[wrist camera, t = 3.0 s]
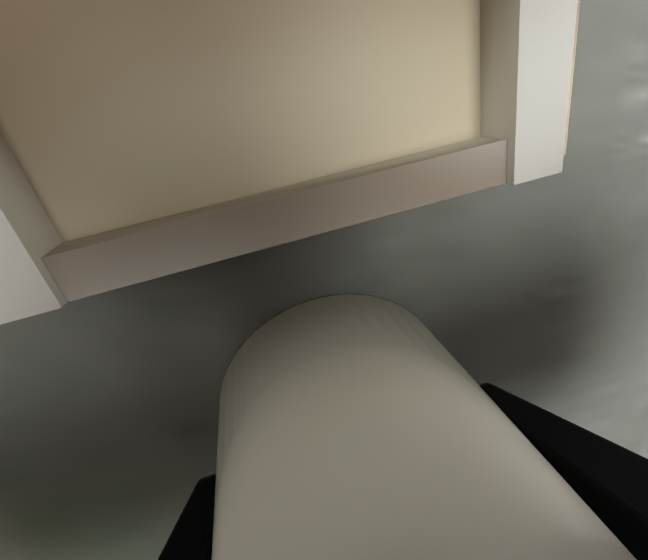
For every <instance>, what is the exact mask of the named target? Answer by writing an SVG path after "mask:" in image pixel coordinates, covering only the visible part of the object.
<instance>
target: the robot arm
mask: <svg viewBox="0 0 648 560" xmlns="http://www.w3.org/2000/svg"><path fill="white" fill-rule="evenodd" d="M479 386H480V387H481V388H482V389H483V390H484V392H485V393H486V394H487V395H488V396H489V397H490V398H491V399H492V400H493V401H494V403H495V404H496V405H497V406H498V407H499V408H500V409H501V410H502V411H503V413H504V414H505V415H506V416H507V417H508V418H509V419H510V420H511V421H512V422H513V424H514V425H515V426H516V427H517V428H518V429H519V430H520V431H521V432H522V434H523V435H524V436H525V437H526V438H527V439H528V440H529V441H530V442H531V443H532V445H533V446H534V447H535V448H536V449H537V450H538V451H539V452H540V453H541V455H542V456H543V457H544V458H545V459H546V460H547V461H548V462H549V463H550V464H551V466H552V467H553V468H554V469H555V470H556V471H557V472H558V473H559V474H560V476H561V477H562V478H563V479H564V480H565V481H566V482H567V483H568V484H569V485H570V487H571V488H572V489H573V490H574V491H575V492H576V493H577V494H578V495H579V497H580V498H581V499H582V500H583V501H584V502H585V503H586V504H587V505H588V506H589V508H590V509H591V510H592V511H593V512H594V513H595V514H596V515H597V516H598V518H599V519H600V520H601V521H602V522H603V523H604V524H605V525H606V526H607V527H608V529H609V530H610V531H611V532H612V533H613V534H614V535H615V536H616V537H617V538H618V540H619V541H620V542H621V543H622V544H623V545H624V546H625V547H626V548H627V550H628V551H629V552H630V553H631V554H632V555H633V556H634V557H635V558H636V559H637V560H648V459H647V458H644V457H642V456H640V455H638V454H636V453H634V452H632V451H630V450H628V449H626V448H624V447H621V446H619V445H617V444H615V443H613V442H611V441H609V440H607V439H605V438H603V437H601V436H598V435H596V434H594V433H592V432H590V431H588V430H586V429H584V428H582V427H580V426H578V425H575V424H573V423H571V422H569V421H567V420H565V419H563V418H561V417H559V416H557V415H555V414H552V413H550V412H548V411H546V410H544V409H542V408H540V407H538V406H536V405H534V404H532V403H530V402H527V401H525V400H523V399H521V398H519V397H517V396H515V395H513V394H511V393H509V392H507V391H504V390H502V389H500V388H498V387H496V386H494V385H492V384H489V383H483V384H480V385H479ZM215 485H216V474H213V475H210V476H207V477H204V478H202V479H200V480H199V481H198V482H197V484H196V486H195V488H194V490H193V492H192V494H191V496H190V498H189V500H188V502H187V504H186V506H185V508H184V510H183V512H182V513H181V515H180V517H179V519H178V521H177V523H176V525H175V527H174V529H173V531H172V533H171V535H170V537H169V539H168V541H167V543H166V545H165V547H164V549H163V551H162V553H161V554H160V556H159V558H158V560H212V542H213V523H214V504H215Z"/></svg>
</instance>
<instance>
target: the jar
mask: <svg viewBox="0 0 648 560" xmlns="http://www.w3.org/2000/svg"><path fill="white" fill-rule="evenodd" d="M212 560H637V559H636V558H635V557H634V556H633V555H632V554H631V553H630V552H629V551H628V550H627V548H626V547H625V546H624V545H623V544H622V543H621V542H620V541H619V540H618V538H617V537H616V536H615V535H614V534H613V533H612V532H611V531H610V530H609V529H608V527H607V526H606V525H605V524H604V523H603V522H602V521H601V520H600V519H599V518H598V516H597V515H596V514H595V513H594V512H593V511H592V510H591V509H590V508H589V506H588V505H587V504H586V503H585V502H584V501H583V500H582V499H581V498H580V497H579V495H578V494H577V493H576V492H575V491H574V490H573V489H572V488H571V487H570V485H569V484H568V483H567V482H566V481H565V480H564V479H563V478H562V477H561V476H560V474H559V473H558V472H557V471H556V470H555V469H554V468H553V467H552V466H551V464H550V463H549V462H548V461H547V460H546V459H545V458H544V457H543V456H542V455H541V453H540V452H539V451H538V450H537V449H536V448H535V447H534V446H533V445H532V443H531V442H530V441H529V440H528V439H527V438H526V437H525V436H524V435H523V434H522V432H521V431H520V430H519V429H518V428H517V427H516V426H515V425H514V424H513V422H512V421H511V420H510V419H509V418H508V417H507V416H506V415H505V414H504V413H503V411H502V410H501V409H500V408H499V407H498V406H497V405H496V404H495V403H494V401H493V400H492V399H491V398H490V397H489V396H488V395H487V394H486V393H485V392H484V390H483V389H482V388H481V387H480V386H479V385H478V384H477V383H476V382H475V381H474V379H473V378H472V377H471V376H470V375H469V374H468V373H467V372H466V371H465V369H464V368H463V367H462V366H461V365H460V364H459V363H458V362H457V361H456V360H455V358H454V357H453V356H452V355H451V354H450V353H449V352H448V351H447V350H446V348H445V347H444V346H443V345H442V344H441V343H440V342H439V341H438V340H437V339H436V337H435V336H434V335H433V334H432V333H431V332H430V331H429V330H428V329H427V327H426V326H425V325H424V324H423V323H422V322H421V321H420V320H419V319H418V318H417V317H416V316H415V315H413V314H412V313H411V312H409V311H408V310H406V309H405V308H403V307H402V306H400V305H398V304H395V303H393V302H391V301H389V300H385V299H381V298H378V297H374V296H367V295H353V294H344V295H334V296H327V297H323V298H318V299H314V300H310V301H308V302H305V303H302V304H299V305H296V306H294V307H292V308H290V309H288V310H286V311H284V312H282V313H280V314H279V315H277V316H275V317H274V318H272V319H271V320H269V321H268V322H266V323H265V324H264V325H263V326H261V327H260V328H259V329H258V330H256V331H255V332H254V333H253V334H252V335H251V336H250V337H249V338H248V339H247V340H246V341H245V342H244V344H243V345H242V346H241V348H240V349H239V350H238V352H237V353H236V354H235V356H234V357H233V359H232V361H231V363H230V365H229V367H228V369H227V371H226V374H225V377H224V380H223V383H222V388H221V394H220V409H219V428H218V447H217V466H216V485H215V504H214V523H213V542H212Z"/></svg>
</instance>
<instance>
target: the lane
mask: <svg viewBox="0 0 648 560" xmlns="http://www.w3.org/2000/svg"><path fill="white" fill-rule="evenodd" d="M579 10H580V0H0V325H1V324H5V323H9V322H12V321H16V320H20V319H23V318H27V317H31V316H34V315H38V314H42V313H45V312H49V311H53V310H56V309H60V308H62V307H63V306H64V305H65V304H66V303H67V302H70V301H74V300H77V299H81V298H85V297H88V296H92V295H96V294H100V293H103V292H107V291H111V290H114V289H118V288H122V287H125V286H129V285H133V284H136V283H140V282H144V281H148V280H151V279H155V278H159V277H162V276H166V275H170V274H173V273H177V272H181V271H185V270H188V269H192V268H196V267H199V266H203V265H207V264H210V263H214V262H218V261H221V260H225V259H229V258H233V257H236V256H240V255H244V254H247V253H251V252H255V251H258V250H262V249H266V248H270V247H273V246H277V245H281V244H284V243H288V242H292V241H295V240H299V239H303V238H307V237H310V236H314V235H318V234H321V233H325V232H329V231H332V230H336V229H340V228H343V227H347V226H351V225H355V224H358V223H362V222H366V221H369V220H373V219H377V218H380V217H384V216H388V215H392V214H395V213H399V212H403V211H406V210H410V209H414V208H417V207H421V206H425V205H429V204H432V203H436V202H440V201H443V200H447V199H451V198H454V197H458V196H462V195H465V194H469V193H473V192H477V191H480V190H484V189H488V188H491V187H495V186H499V185H502V184H506V183H507V184H511V185H516V184H520V183H524V182H527V181H531V180H535V179H538V178H542V177H546V176H549V175H553V174H557V173H561V172H562V167H563V156H564V155H566V146H567V136H568V125H569V115H570V104H571V94H572V83H573V73H574V62H575V52H576V41H577V31H578V20H579Z"/></svg>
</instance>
